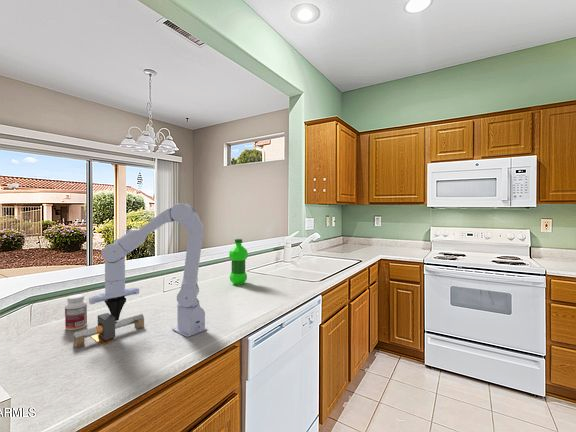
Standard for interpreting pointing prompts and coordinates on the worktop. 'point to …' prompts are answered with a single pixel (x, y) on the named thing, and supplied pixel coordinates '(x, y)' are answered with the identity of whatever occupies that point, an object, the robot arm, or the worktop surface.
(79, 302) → the pill bottle
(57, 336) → the worktop surface
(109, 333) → the collar
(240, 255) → the plastic bottle
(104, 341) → the rail
